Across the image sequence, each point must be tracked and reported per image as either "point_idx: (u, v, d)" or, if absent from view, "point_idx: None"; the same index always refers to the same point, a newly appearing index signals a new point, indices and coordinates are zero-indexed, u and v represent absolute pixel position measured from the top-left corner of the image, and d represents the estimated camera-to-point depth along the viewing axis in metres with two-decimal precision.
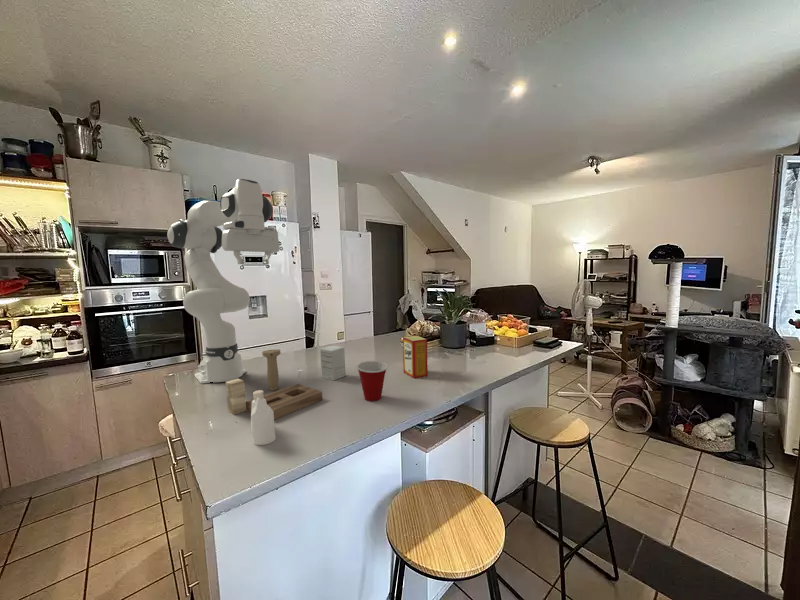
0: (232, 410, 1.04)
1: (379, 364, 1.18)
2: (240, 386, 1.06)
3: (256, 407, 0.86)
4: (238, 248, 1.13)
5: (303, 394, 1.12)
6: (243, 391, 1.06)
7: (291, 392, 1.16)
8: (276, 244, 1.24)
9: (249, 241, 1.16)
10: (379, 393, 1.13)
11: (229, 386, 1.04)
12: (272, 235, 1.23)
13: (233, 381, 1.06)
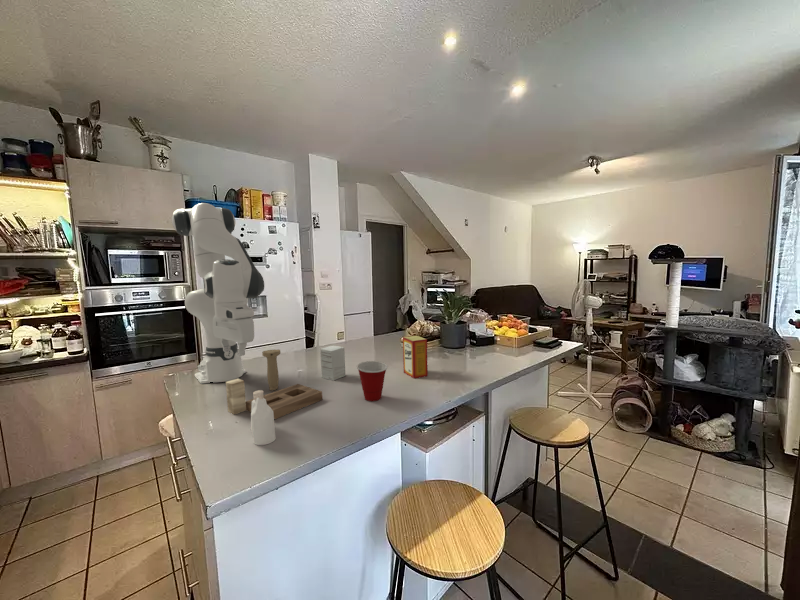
0: (232, 410, 1.04)
1: (380, 364, 1.18)
2: (241, 386, 1.06)
3: (256, 407, 0.86)
4: None
5: (303, 394, 1.12)
6: (243, 391, 1.06)
7: (291, 392, 1.16)
8: None
9: None
10: (379, 393, 1.13)
11: (229, 386, 1.04)
12: None
13: (233, 381, 1.06)
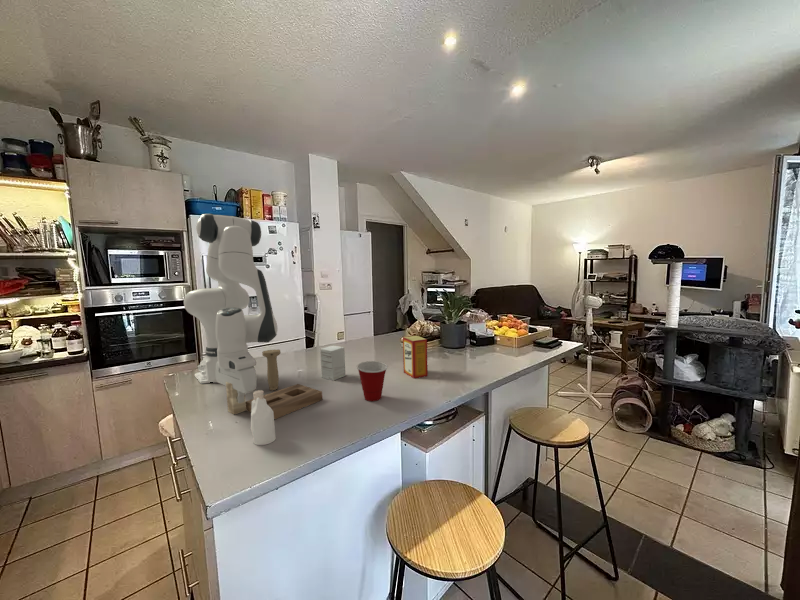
0: (232, 410, 1.04)
1: (380, 364, 1.18)
2: None
3: (256, 407, 0.86)
4: None
5: (303, 394, 1.12)
6: None
7: (291, 392, 1.16)
8: None
9: None
10: (379, 393, 1.13)
11: (229, 386, 1.04)
12: None
13: None
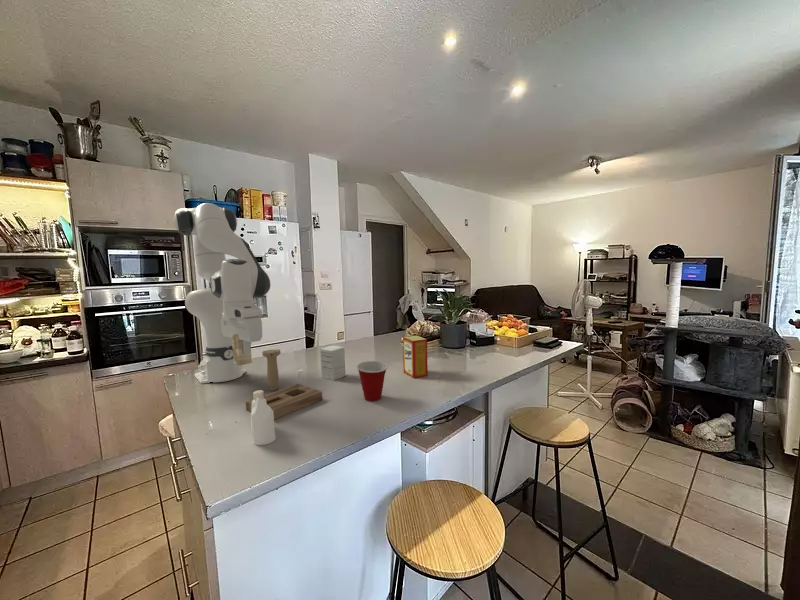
0: (238, 361, 1.04)
1: (379, 364, 1.18)
2: None
3: (256, 407, 0.86)
4: None
5: (303, 394, 1.12)
6: None
7: (291, 392, 1.16)
8: None
9: None
10: (379, 393, 1.13)
11: (235, 337, 1.04)
12: None
13: None
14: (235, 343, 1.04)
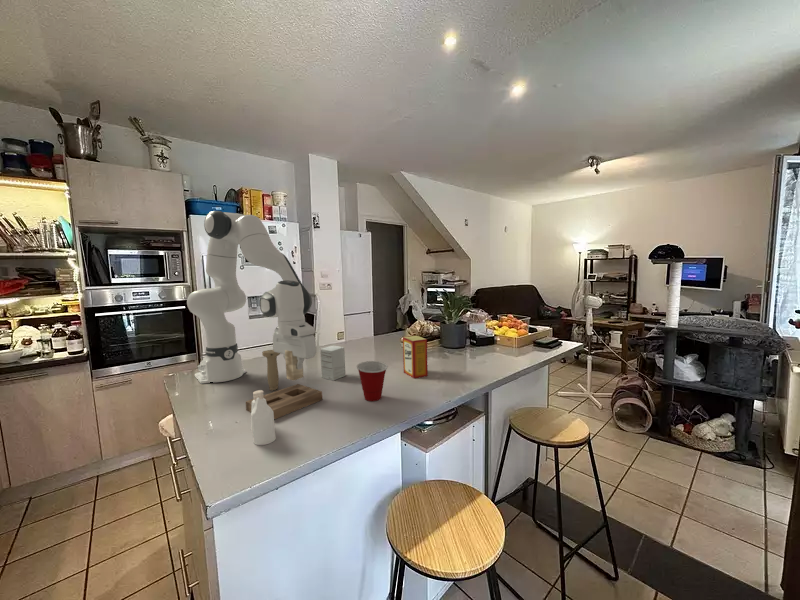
0: (292, 376, 1.11)
1: (379, 364, 1.18)
2: None
3: (256, 407, 0.86)
4: None
5: (303, 394, 1.12)
6: None
7: (291, 392, 1.16)
8: None
9: None
10: (379, 393, 1.13)
11: (289, 353, 1.11)
12: None
13: None
14: (289, 359, 1.11)
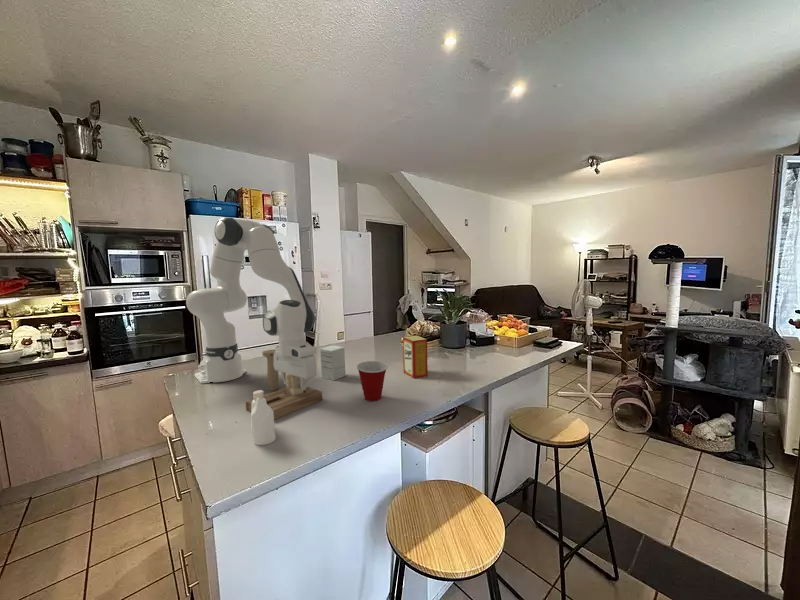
0: None
1: (380, 364, 1.18)
2: (299, 377, 1.13)
3: (256, 407, 0.86)
4: None
5: (303, 394, 1.12)
6: None
7: None
8: None
9: None
10: (379, 393, 1.13)
11: (289, 377, 1.12)
12: None
13: None
14: (289, 383, 1.12)
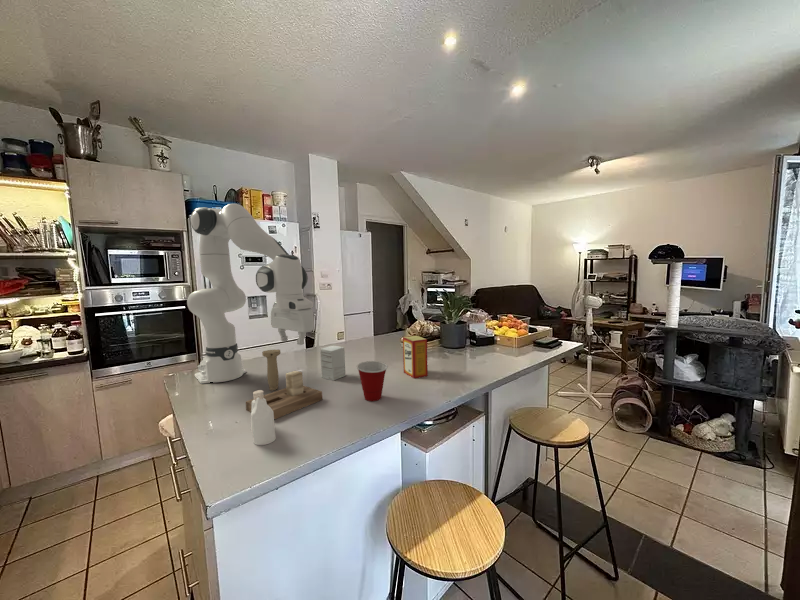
0: None
1: (380, 364, 1.18)
2: (299, 377, 1.13)
3: (256, 407, 0.86)
4: None
5: (303, 394, 1.12)
6: (301, 382, 1.14)
7: None
8: None
9: None
10: (379, 393, 1.13)
11: (289, 377, 1.12)
12: None
13: (292, 373, 1.13)
14: (289, 383, 1.12)
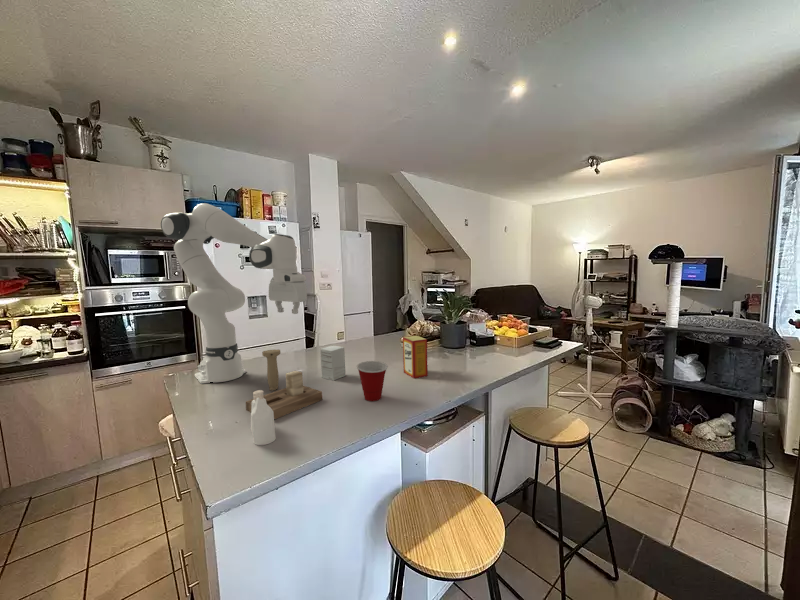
0: None
1: (380, 364, 1.18)
2: (299, 377, 1.13)
3: (256, 407, 0.86)
4: None
5: (303, 394, 1.12)
6: (301, 382, 1.14)
7: None
8: None
9: None
10: (379, 393, 1.13)
11: (289, 377, 1.12)
12: None
13: (292, 373, 1.13)
14: (289, 383, 1.12)
